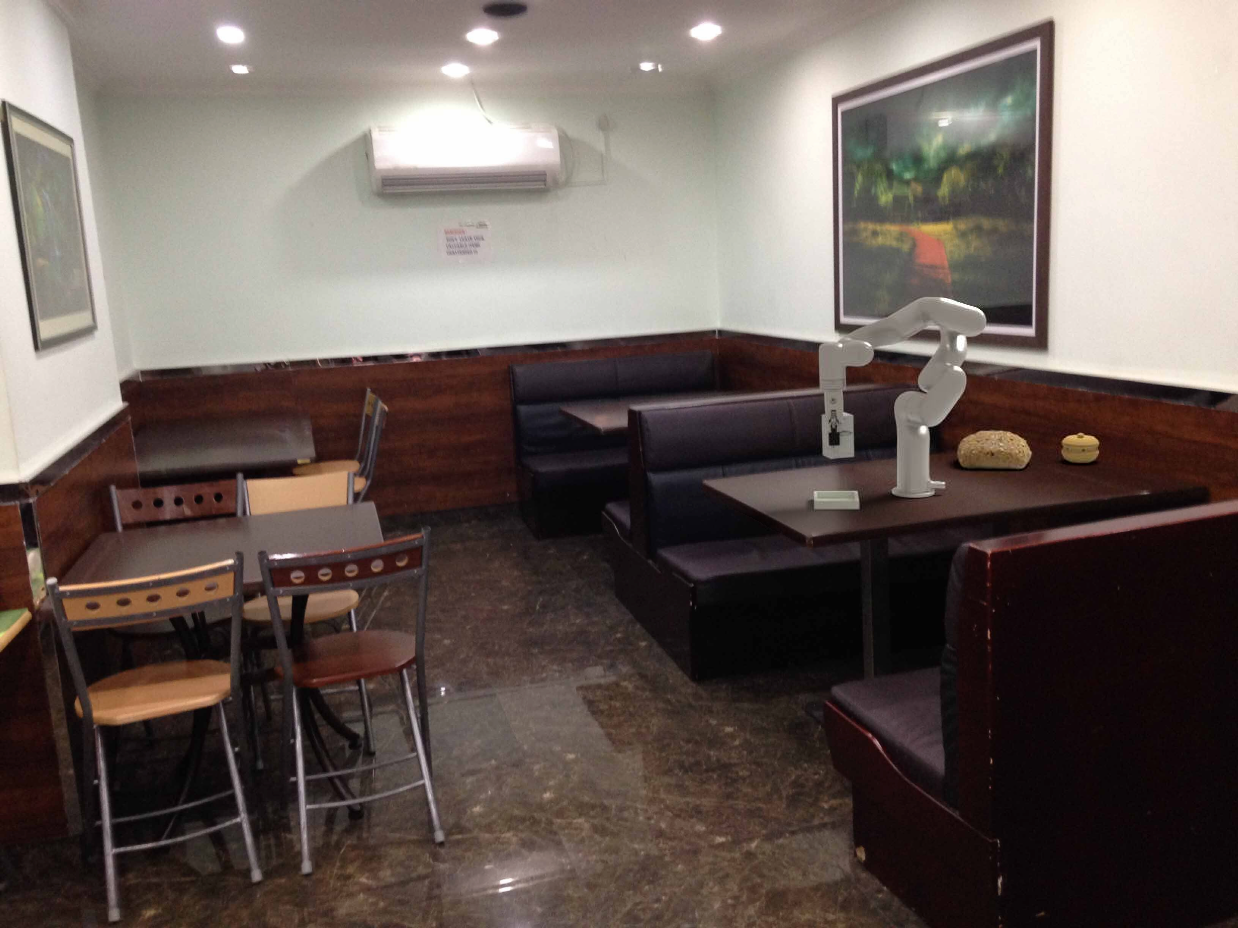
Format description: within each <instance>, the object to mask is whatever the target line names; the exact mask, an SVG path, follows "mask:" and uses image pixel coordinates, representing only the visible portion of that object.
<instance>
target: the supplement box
mask: <svg viewBox="0 0 1238 928" xmlns="http://www.w3.org/2000/svg"><path fill="white" fill-rule="evenodd" d="M830 422H832V417H831V418H830ZM836 422H837V417H836ZM838 422H839V421H838ZM828 432H829V424H827V421H826V414H825V413H824V414H821V434H822V435H821V437H822V442H821V443H822V456H823V457H826V458H828V459H830V460H833V459H842V458H843V459H844V458H854V457H855V444H854V443H855V441H854V440H855V436H854V434H855V433H854V414H851V413H848V412H845V411H843V424H841V423H839V432H840V445H839V446H829V434H828Z"/></svg>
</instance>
